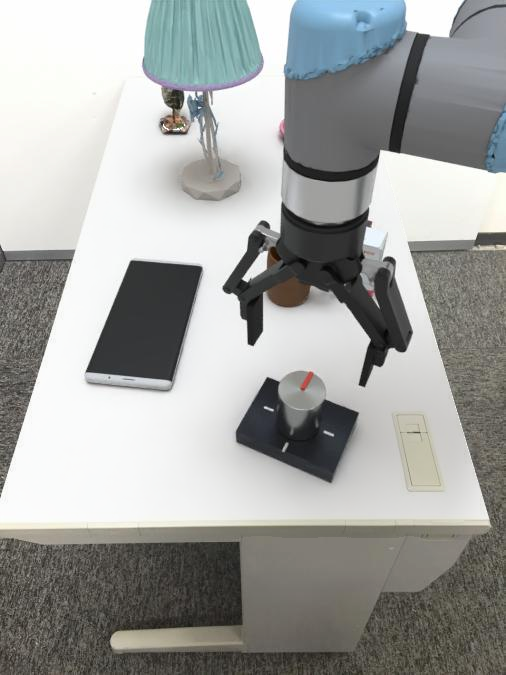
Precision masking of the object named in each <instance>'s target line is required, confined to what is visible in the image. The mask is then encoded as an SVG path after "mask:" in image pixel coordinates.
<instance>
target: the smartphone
mask: <svg viewBox="0 0 506 675" xmlns="http://www.w3.org/2000/svg"><path fill="white" fill-rule="evenodd" d="M203 271H204V268H203V265H202V264H201V263H197V262H186V261H185V262H184V261H172V260H161V259H150V258H149V259H148V258H138V257H137V258H136V257H135V258H132V259H130V260H129V263H128V266H127V268H126V270H125V273H124V275H123V278H122V280H121V283H120V285H119V288H118V290H117V293H116V295H115V297H114V300H113V303H112V305H111V307H110V310H109V312H108V315H107V317H106V319H105V322H104V324H103V327H102V330H101V332H100V335H99V337H98V339H97V341H96V342H97V343H96V345H95V347H94V350H93V352H92V355H91V357H90V359H89V362H88V365H87V367H86V369H85V372H84V379H85V381H86V382H88V383H93V384H103V385H113V386H122V387H130V388H131V387H133V388H141V389H142V388H144V389H152V390H161V391H167V390H170V389H171V388H172V387H173V384H174V379H175V376H176V372H177V368H178V365H179V361H180V358H181V355H182V351H183V346H184V342H185V339H186V335H187V332H188V328H189V323H190V320H191V316H192V312H193V309H194V305H195V301H196V298H197V295H198V290H199V287H200V283H201V279H202V275H203Z"/></svg>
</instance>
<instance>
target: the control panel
mask: <svg viewBox="0 0 506 675" xmlns="http://www.w3.org/2000/svg"><path fill="white" fill-rule="evenodd" d="M280 381H281V380H277V379H274V378H272V377H269V376H266V377H265V379H264V381H263V383H262V385H261V386H260V388H259V390H258V391H257V393H256V394H255V397H254V399H253V400H252V402H251V404H250V405H249V407H248V409H247V411H246V412H245V414H244V416H243V417H242V419H241V420H240V422H239V424H238V426H237V428H236V430H235V441H236V443H238V444H241V445H243V446H245V447H247V448H250V449H252V450H254V451H256V452H258V453H261V454H263V455H265V456H268V457H270V458H273V459H275V460H277V461H278V462H279V461H280V463H281V462H282V463H284V464H286V465H288V466H291V467H293V468H295V469H298V470H300V471H302V472H305V473H307V474H309V475H311V476H313V477H316V478H317V479H321V480H323V481H325V482H327V483H330V484H332V483H333V480H334V478H335V476H336V474H337V471H338V469H339V466H340V464H341V461H342V459H343V456H344V454H345V451H346V449H347V447H348V444H349V443H350V440H351V437H352V435H353V433H354V430H355V428H356V425H357V422H358V418H359V414H360V412H359V411H356V410H353V409H351V408H348V407H346V406H343V405H341V404H339V403H336V402H333V401H331V400H328V399H326V398H325V403H324V408H323V414H322V419H321V424H320V428H319V430H318V432H317V433H316V434H315V435H314V436H313V437H312V438H310V439H307V440H302V441H297V440H292V439H289V438H287V437H286V436H284V435H283V434H282V433H281V432H280V431H279V429H278V427H277V423H276V415H277V400H278V387H279V383H280Z"/></svg>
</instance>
